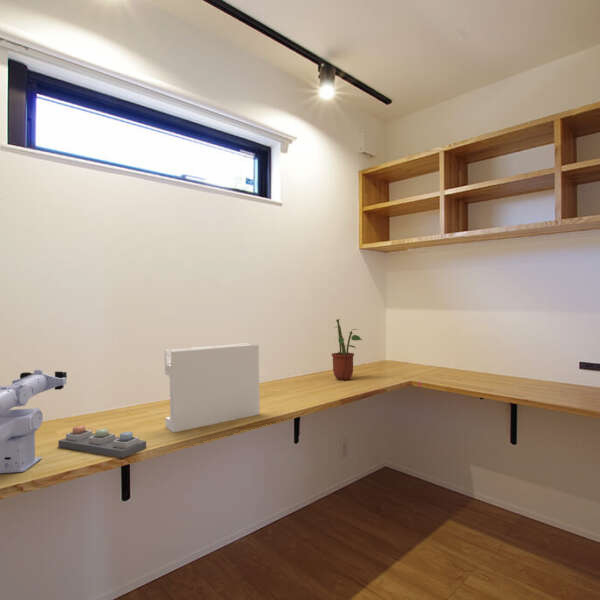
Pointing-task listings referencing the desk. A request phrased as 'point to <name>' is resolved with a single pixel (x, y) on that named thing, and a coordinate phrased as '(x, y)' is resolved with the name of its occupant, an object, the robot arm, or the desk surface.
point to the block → (212, 385)
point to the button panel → (102, 444)
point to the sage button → (101, 432)
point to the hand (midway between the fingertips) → (52, 375)
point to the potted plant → (343, 357)
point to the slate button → (126, 436)
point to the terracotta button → (78, 429)
